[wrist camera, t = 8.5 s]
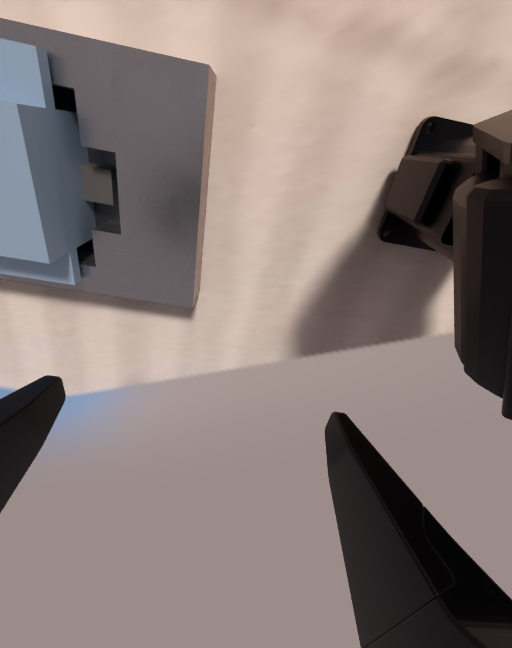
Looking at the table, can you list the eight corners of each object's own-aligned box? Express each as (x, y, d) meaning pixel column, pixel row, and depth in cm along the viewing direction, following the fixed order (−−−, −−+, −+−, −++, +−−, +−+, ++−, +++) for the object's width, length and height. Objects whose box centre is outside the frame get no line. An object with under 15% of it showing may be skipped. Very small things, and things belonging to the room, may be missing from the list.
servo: (111, 71, 14) (50, 42, 10) (124, 269, 20) (88, 304, 16) (-19, 42, 14) (-141, 0, 10) (31, 254, 19) (-33, 286, 15)
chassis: (216, 75, 15) (209, 64, 12) (199, 291, 21) (192, 308, 19) (-138, -3, 13) (-213, -30, 11) (-42, 253, 19) (-79, 266, 17)
